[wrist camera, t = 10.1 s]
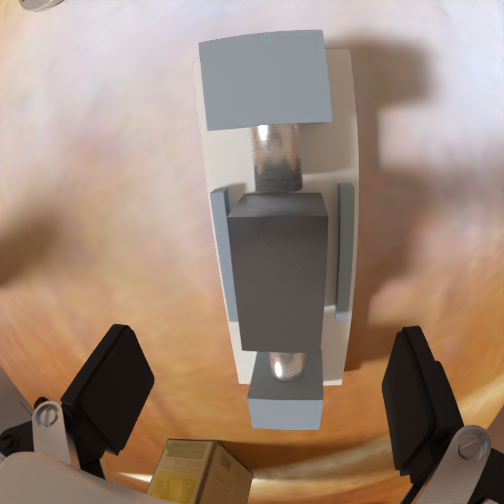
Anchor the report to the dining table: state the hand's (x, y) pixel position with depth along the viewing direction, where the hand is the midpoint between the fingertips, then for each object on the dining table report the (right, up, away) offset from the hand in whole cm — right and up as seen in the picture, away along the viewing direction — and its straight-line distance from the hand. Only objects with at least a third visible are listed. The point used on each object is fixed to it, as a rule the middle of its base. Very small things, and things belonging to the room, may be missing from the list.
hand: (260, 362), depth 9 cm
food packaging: (-6, -28, +27) cm, 39 cm away
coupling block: (+2, +4, +9) cm, 10 cm away
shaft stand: (+2, +4, +10) cm, 11 cm away
